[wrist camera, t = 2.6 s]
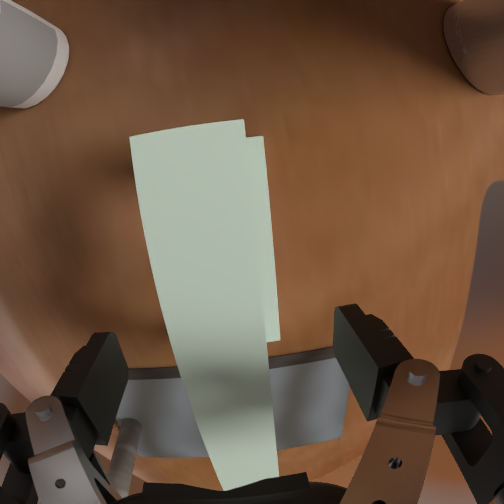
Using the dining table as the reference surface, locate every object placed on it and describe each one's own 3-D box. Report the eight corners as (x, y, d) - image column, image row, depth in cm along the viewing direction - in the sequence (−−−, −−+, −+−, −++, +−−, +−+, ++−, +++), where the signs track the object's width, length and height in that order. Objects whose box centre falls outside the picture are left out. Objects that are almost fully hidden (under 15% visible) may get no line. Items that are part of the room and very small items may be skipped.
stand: (259, 137, 19) (328, 114, 6) (276, 325, 24) (320, 483, 11) (167, 148, 19) (58, 155, 6) (199, 334, 24) (186, 497, 10)
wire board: (363, 340, 25) (463, 506, 8) (350, 424, 29) (403, 555, 12) (99, 369, 24) (35, 537, 7) (140, 446, 28) (119, 580, 11)
